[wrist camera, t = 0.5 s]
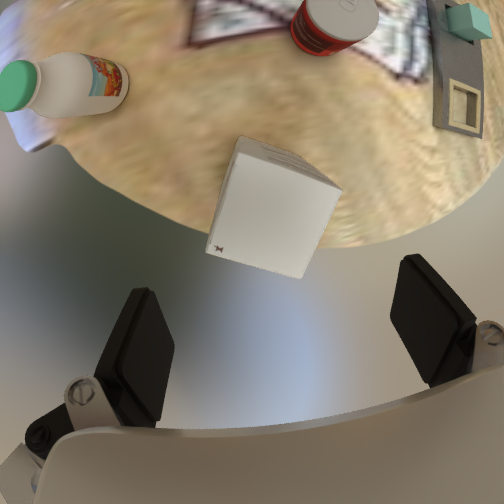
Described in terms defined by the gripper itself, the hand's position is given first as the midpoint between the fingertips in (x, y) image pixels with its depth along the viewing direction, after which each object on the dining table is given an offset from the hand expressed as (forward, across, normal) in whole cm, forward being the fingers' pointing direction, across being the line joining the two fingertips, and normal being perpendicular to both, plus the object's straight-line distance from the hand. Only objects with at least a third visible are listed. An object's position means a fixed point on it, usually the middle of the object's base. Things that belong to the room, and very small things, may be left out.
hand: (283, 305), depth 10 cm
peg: (+30, -35, -23) cm, 52 cm away
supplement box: (+30, -1, +2) cm, 30 cm away
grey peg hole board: (+30, -35, -16) cm, 49 cm away
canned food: (+30, -11, -18) cm, 37 cm away
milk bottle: (+30, +19, -14) cm, 38 cm away
